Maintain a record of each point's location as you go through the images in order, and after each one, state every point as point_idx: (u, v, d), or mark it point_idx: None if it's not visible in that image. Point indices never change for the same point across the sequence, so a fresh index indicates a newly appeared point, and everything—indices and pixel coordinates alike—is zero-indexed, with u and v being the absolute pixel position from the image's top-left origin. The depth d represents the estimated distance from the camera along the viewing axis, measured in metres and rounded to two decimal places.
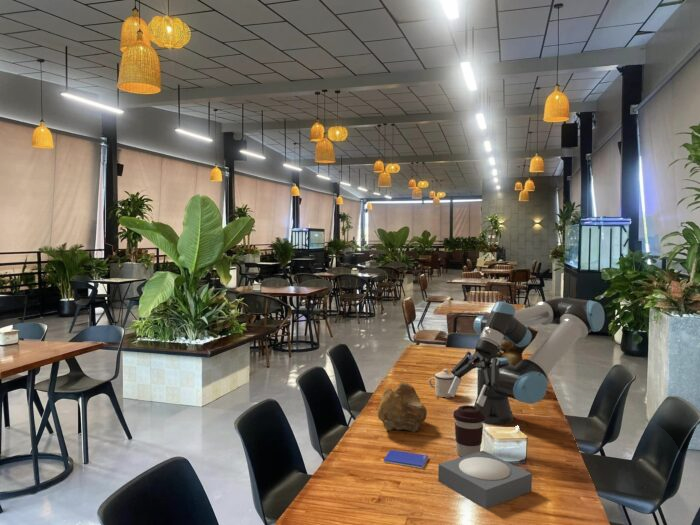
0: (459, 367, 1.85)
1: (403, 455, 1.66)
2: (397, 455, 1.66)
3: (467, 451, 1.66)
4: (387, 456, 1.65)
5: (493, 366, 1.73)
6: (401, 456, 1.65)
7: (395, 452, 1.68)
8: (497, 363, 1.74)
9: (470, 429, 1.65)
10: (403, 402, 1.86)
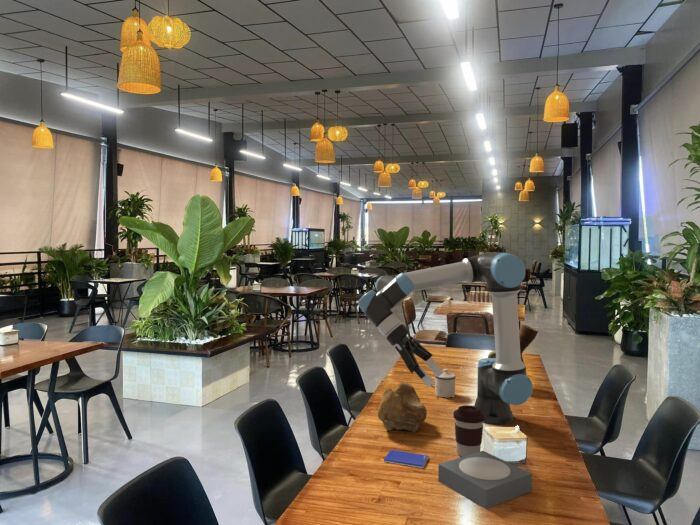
0: None
1: (403, 455, 1.66)
2: (397, 455, 1.66)
3: (467, 451, 1.66)
4: (387, 456, 1.65)
5: None
6: (401, 456, 1.65)
7: (395, 452, 1.68)
8: (400, 348, 1.69)
9: (470, 429, 1.65)
10: (403, 402, 1.86)
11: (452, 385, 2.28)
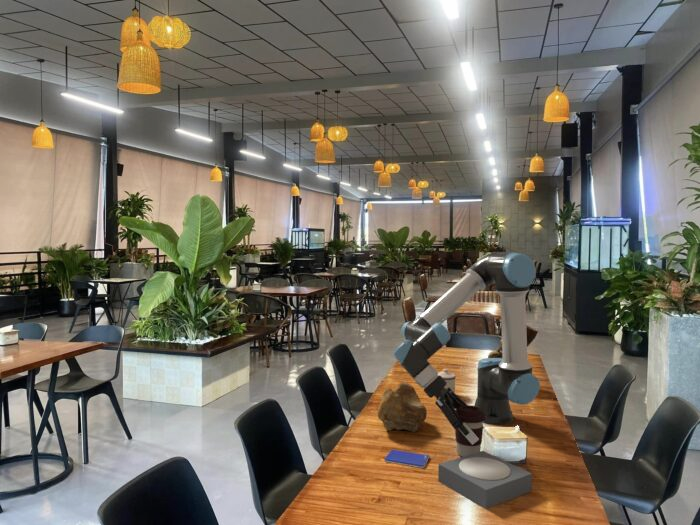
0: None
1: (404, 455, 1.66)
2: (397, 455, 1.66)
3: (467, 451, 1.66)
4: (388, 456, 1.65)
5: None
6: (402, 456, 1.65)
7: (396, 452, 1.68)
8: (440, 404, 1.65)
9: None
10: (403, 402, 1.86)
11: (452, 385, 2.28)
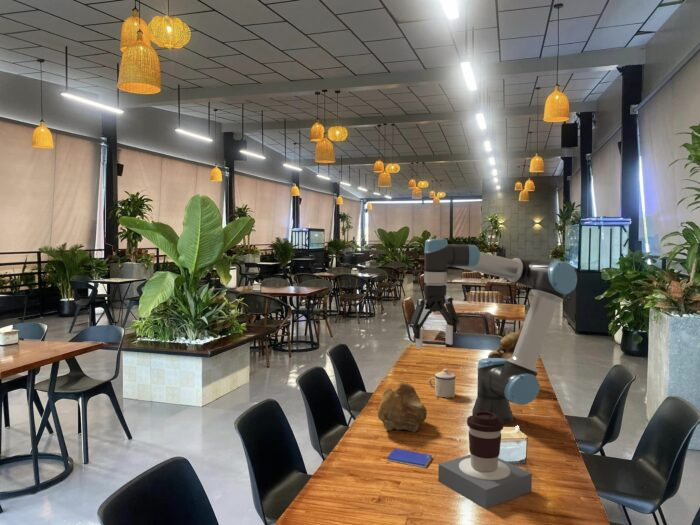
0: (450, 314, 1.83)
1: (407, 454, 1.66)
2: (400, 454, 1.67)
3: (483, 464, 1.44)
4: (391, 455, 1.66)
5: None
6: (404, 455, 1.66)
7: (399, 451, 1.69)
8: (419, 303, 1.75)
9: (487, 439, 1.43)
10: (403, 402, 1.86)
11: (452, 385, 2.28)
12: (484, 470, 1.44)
